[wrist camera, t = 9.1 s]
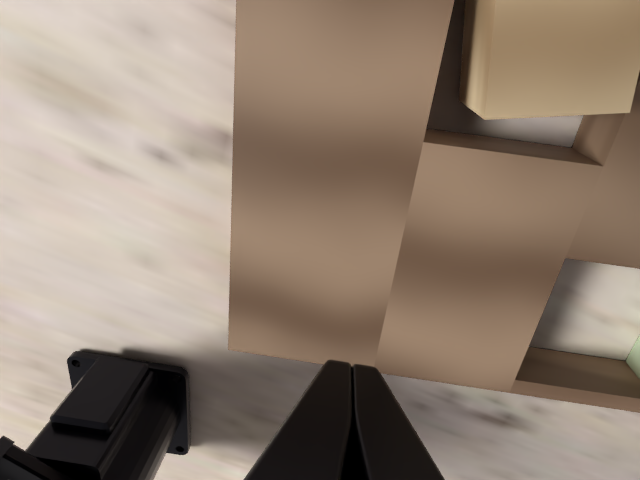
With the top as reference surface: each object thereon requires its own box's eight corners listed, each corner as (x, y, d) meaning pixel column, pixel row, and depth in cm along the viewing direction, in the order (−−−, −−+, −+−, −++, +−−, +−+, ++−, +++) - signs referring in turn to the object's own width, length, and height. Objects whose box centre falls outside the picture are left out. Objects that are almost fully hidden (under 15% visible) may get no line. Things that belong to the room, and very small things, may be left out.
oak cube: (570, 94, 16) (629, 112, 12) (458, 99, 16) (484, 119, 13) (592, -34, 14) (668, -55, 11) (466, -23, 15) (499, -40, 11)
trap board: (735, 390, 21) (779, 434, 19) (242, 316, 22) (228, 349, 19) (1032, -19, 13) (1167, -29, 11) (259, -109, 14) (239, -135, 12)
